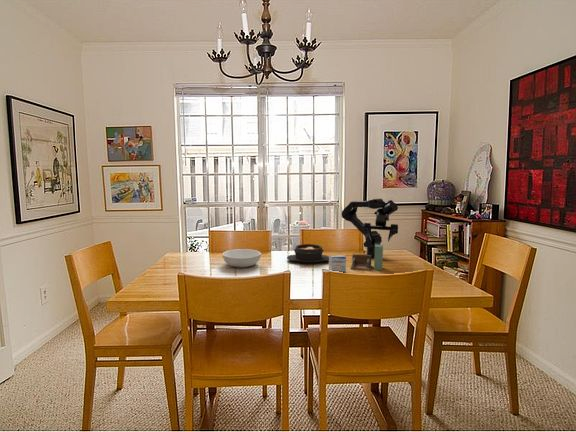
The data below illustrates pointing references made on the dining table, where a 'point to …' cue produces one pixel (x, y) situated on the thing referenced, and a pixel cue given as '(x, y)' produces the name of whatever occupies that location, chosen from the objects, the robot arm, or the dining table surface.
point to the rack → (361, 262)
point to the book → (378, 257)
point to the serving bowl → (241, 257)
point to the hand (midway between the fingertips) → (379, 240)
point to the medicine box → (337, 263)
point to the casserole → (308, 254)
